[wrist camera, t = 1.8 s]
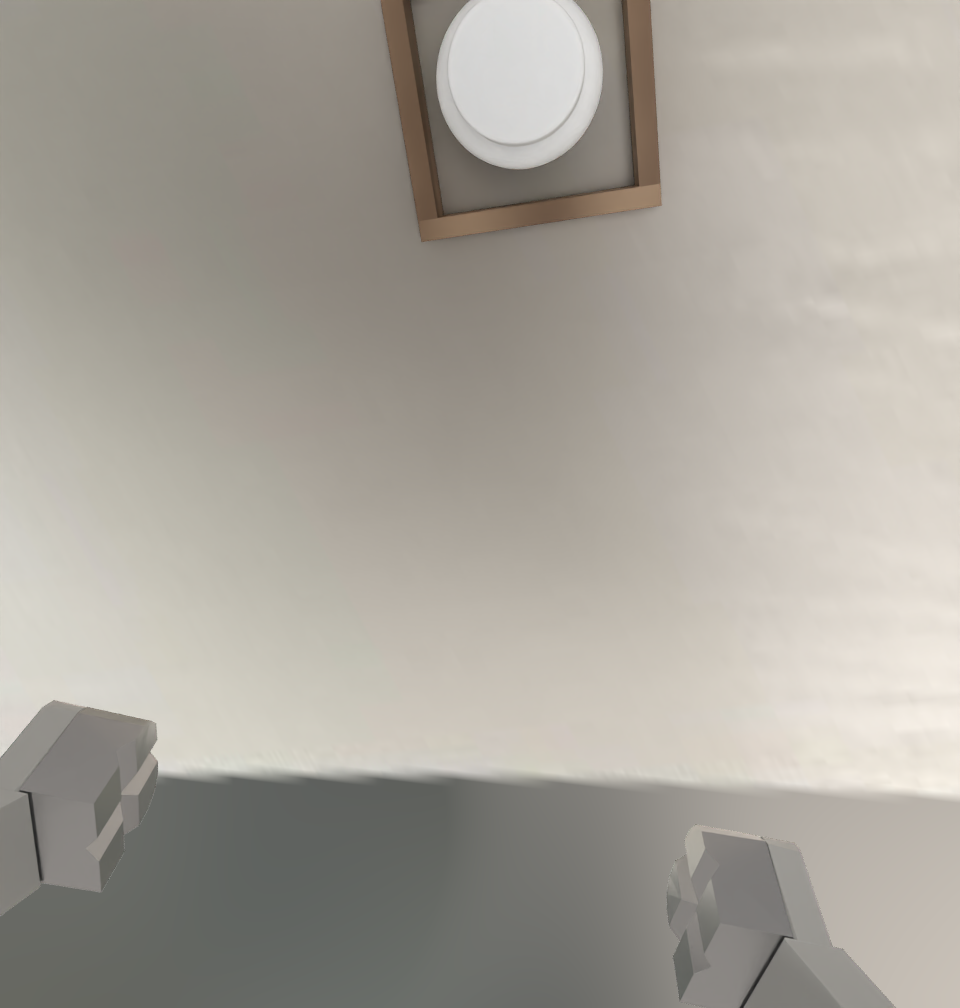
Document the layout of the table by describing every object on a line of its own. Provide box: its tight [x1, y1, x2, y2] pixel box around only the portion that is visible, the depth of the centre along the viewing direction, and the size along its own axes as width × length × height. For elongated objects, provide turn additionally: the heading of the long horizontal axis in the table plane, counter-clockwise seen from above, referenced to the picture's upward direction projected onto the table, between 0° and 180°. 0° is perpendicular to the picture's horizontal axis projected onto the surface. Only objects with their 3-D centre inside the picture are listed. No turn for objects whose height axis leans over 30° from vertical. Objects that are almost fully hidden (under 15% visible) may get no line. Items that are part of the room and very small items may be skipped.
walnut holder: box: [381, 0, 662, 242], centre depth 30 cm, size 10×10×2 cm
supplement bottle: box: [436, 0, 603, 170], centre depth 27 cm, size 5×5×10 cm
